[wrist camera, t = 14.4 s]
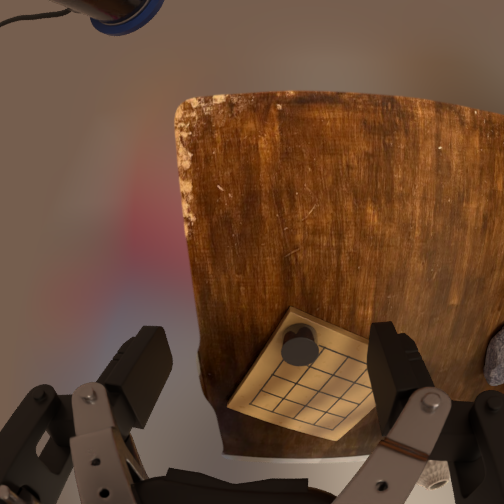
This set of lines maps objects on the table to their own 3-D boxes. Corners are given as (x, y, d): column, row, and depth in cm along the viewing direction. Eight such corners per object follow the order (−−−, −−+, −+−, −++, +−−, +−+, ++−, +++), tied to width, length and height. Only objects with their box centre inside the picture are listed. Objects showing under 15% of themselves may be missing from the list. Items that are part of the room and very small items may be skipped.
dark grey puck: (275, 343, 41) (274, 358, 38) (292, 317, 39) (292, 332, 36) (306, 355, 41) (306, 371, 38) (324, 331, 39) (326, 346, 36)
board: (228, 400, 49) (226, 407, 47) (290, 305, 40) (289, 312, 39) (335, 435, 50) (336, 441, 48) (412, 357, 41) (415, 364, 40)
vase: (382, 407, 46) (398, 486, 31) (448, 382, 43) (478, 454, 27) (390, 441, 50) (402, 508, 34) (447, 419, 46) (469, 482, 31)
